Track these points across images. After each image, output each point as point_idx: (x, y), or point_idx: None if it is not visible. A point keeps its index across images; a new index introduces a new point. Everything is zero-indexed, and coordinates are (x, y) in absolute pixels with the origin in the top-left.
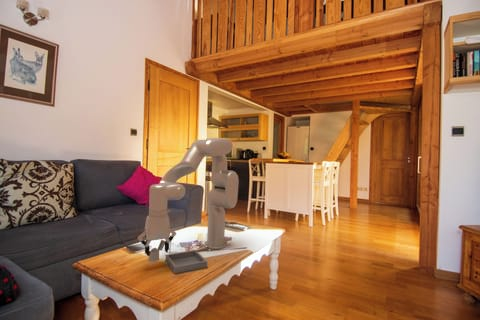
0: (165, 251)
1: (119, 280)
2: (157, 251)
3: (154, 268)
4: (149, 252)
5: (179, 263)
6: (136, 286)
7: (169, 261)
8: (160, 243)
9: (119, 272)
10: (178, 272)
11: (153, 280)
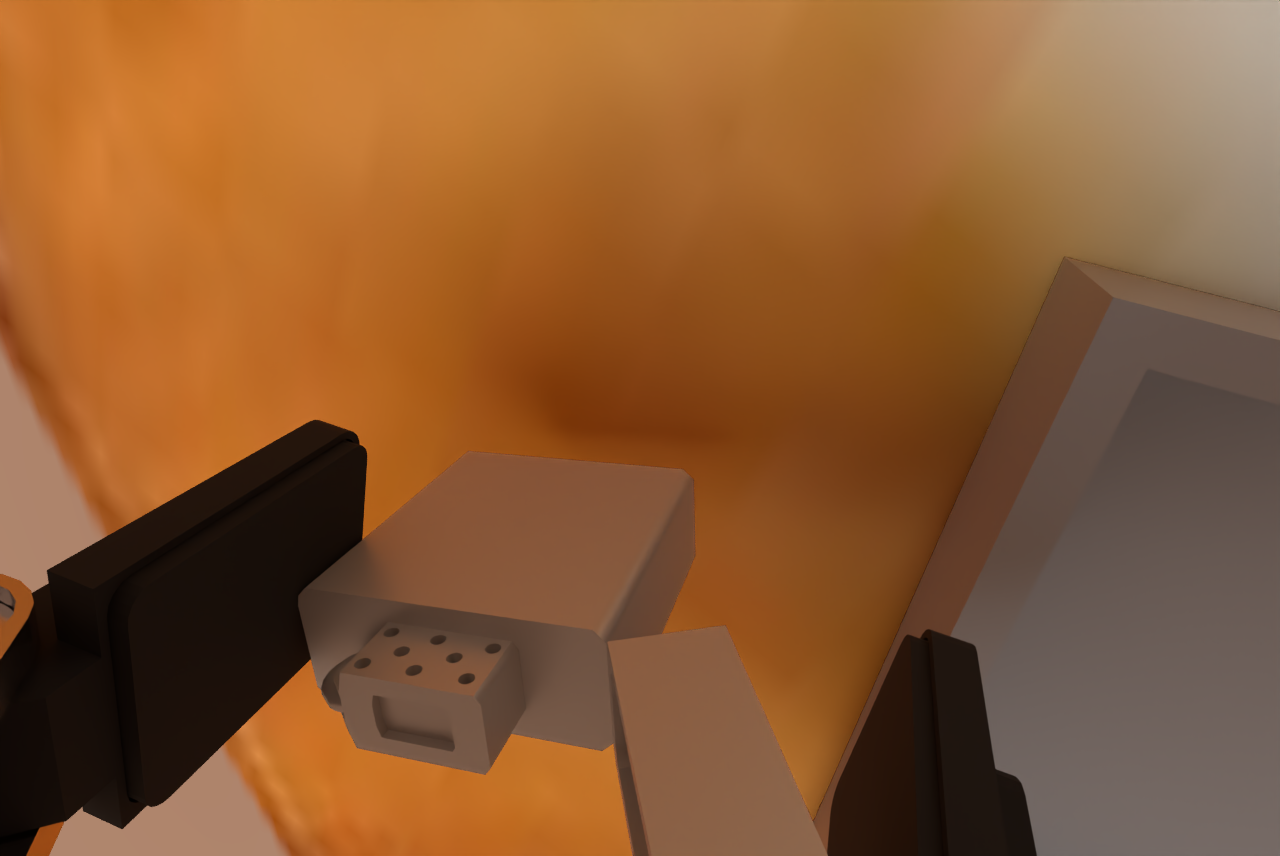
0: (865, 726)
1: (97, 434)
2: (555, 717)
3: (652, 429)
4: (318, 632)
5: (1186, 648)
6: (264, 711)
7: None
8: (664, 837)
9: (95, 159)
10: None
11: None
